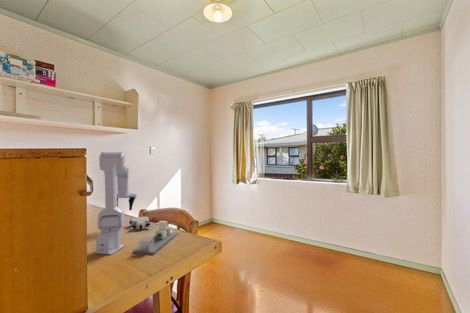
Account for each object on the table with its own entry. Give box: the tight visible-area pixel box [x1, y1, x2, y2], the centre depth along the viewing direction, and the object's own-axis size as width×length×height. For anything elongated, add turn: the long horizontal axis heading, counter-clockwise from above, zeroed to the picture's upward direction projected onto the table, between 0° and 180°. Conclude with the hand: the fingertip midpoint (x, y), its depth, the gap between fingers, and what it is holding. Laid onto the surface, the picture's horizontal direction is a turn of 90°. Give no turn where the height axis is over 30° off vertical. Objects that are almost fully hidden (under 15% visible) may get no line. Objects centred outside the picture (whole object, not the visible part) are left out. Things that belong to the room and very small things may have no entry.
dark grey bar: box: [152, 228, 168, 241], centre depth 107 cm, size 20×1×1 cm, turn 170°
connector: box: [138, 236, 154, 251], centre depth 99 cm, size 5×5×4 cm
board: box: [132, 225, 179, 255], centre depth 108 cm, size 24×10×5 cm, turn 170°
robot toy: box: [128, 216, 152, 231], centre depth 131 cm, size 12×4×15 cm
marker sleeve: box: [154, 220, 168, 239], centre depth 111 cm, size 5×4×7 cm
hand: (123, 209), depth 130 cm, fingers open, 7 cm apart
